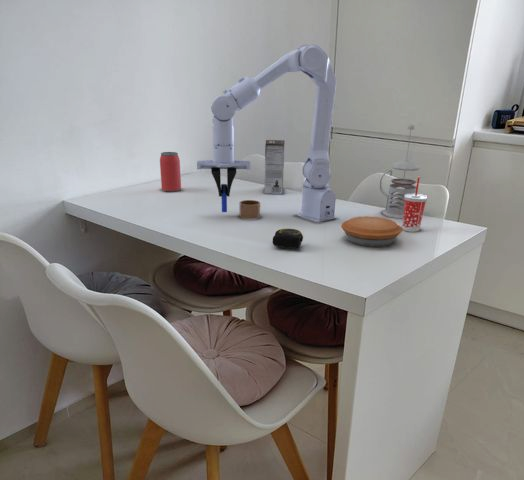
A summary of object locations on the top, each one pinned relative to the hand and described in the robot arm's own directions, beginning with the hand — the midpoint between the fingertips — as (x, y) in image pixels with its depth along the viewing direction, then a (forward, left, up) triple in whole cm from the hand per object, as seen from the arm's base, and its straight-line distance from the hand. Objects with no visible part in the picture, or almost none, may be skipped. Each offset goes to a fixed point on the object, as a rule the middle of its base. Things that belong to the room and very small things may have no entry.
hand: (224, 195), depth 152 cm
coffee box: (+18, -34, -6) cm, 39 cm away
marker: (0, 0, -4) cm, 4 cm away
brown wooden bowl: (-4, -7, -6) cm, 10 cm away
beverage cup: (-39, -35, -6) cm, 53 cm away
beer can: (+39, -6, -6) cm, 40 cm away
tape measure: (-31, +3, -6) cm, 32 cm away
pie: (-39, -18, -6) cm, 43 cm away
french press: (-26, -45, -6) cm, 52 cm away
